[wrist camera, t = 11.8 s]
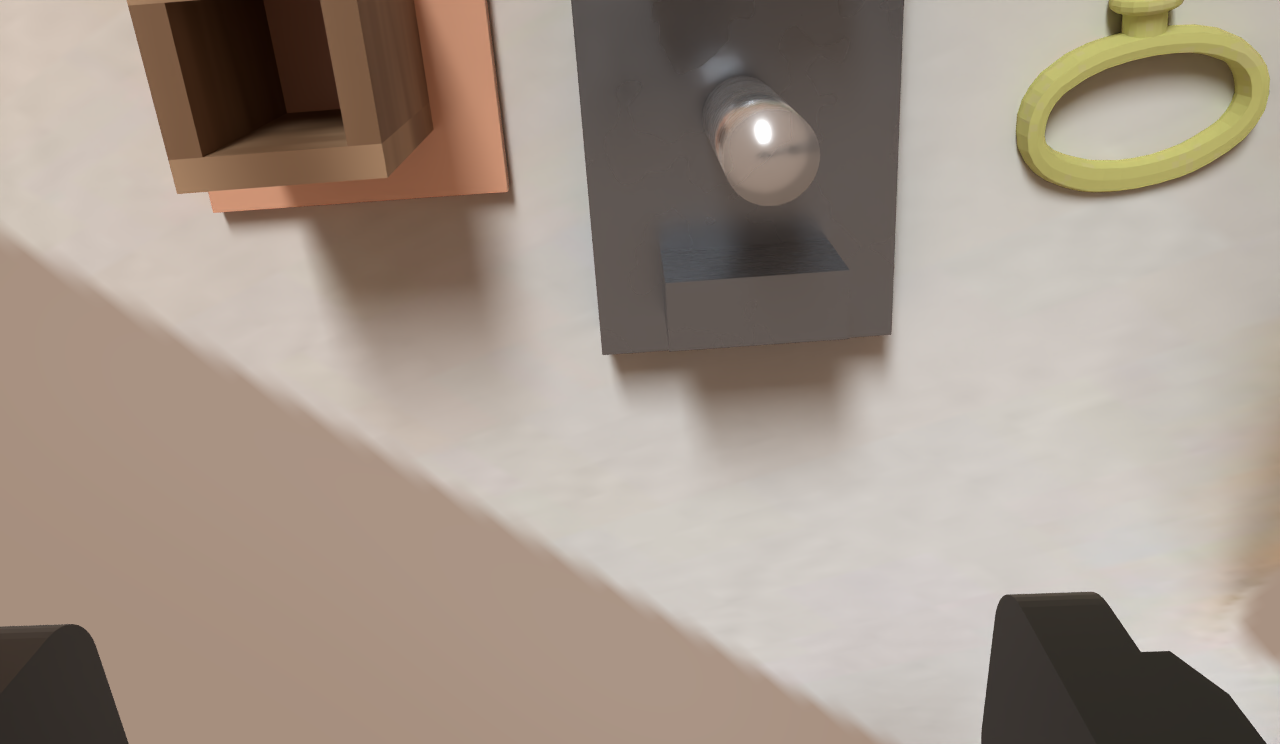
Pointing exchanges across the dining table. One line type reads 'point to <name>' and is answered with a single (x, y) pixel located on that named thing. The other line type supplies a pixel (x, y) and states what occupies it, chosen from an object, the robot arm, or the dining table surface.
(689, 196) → the grey clamp base
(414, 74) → the sleeve
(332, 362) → the dining table surface
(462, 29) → the tile
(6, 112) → the dining table surface
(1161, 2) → the key
